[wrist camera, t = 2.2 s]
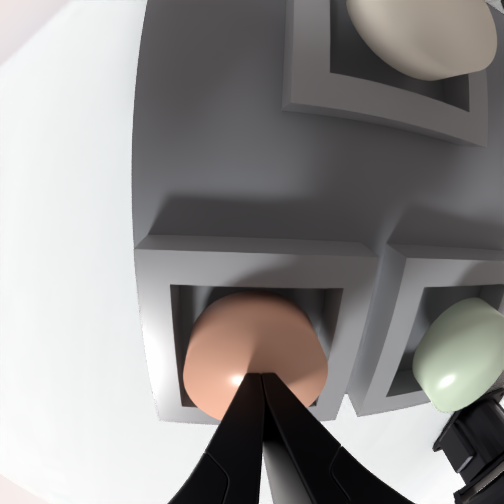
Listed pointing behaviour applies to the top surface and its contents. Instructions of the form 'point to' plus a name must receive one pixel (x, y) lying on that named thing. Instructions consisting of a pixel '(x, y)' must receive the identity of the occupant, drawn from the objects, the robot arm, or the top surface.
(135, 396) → the top surface
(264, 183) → the console
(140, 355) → the top surface
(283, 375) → the terracotta button
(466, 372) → the sage button
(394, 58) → the cream button
